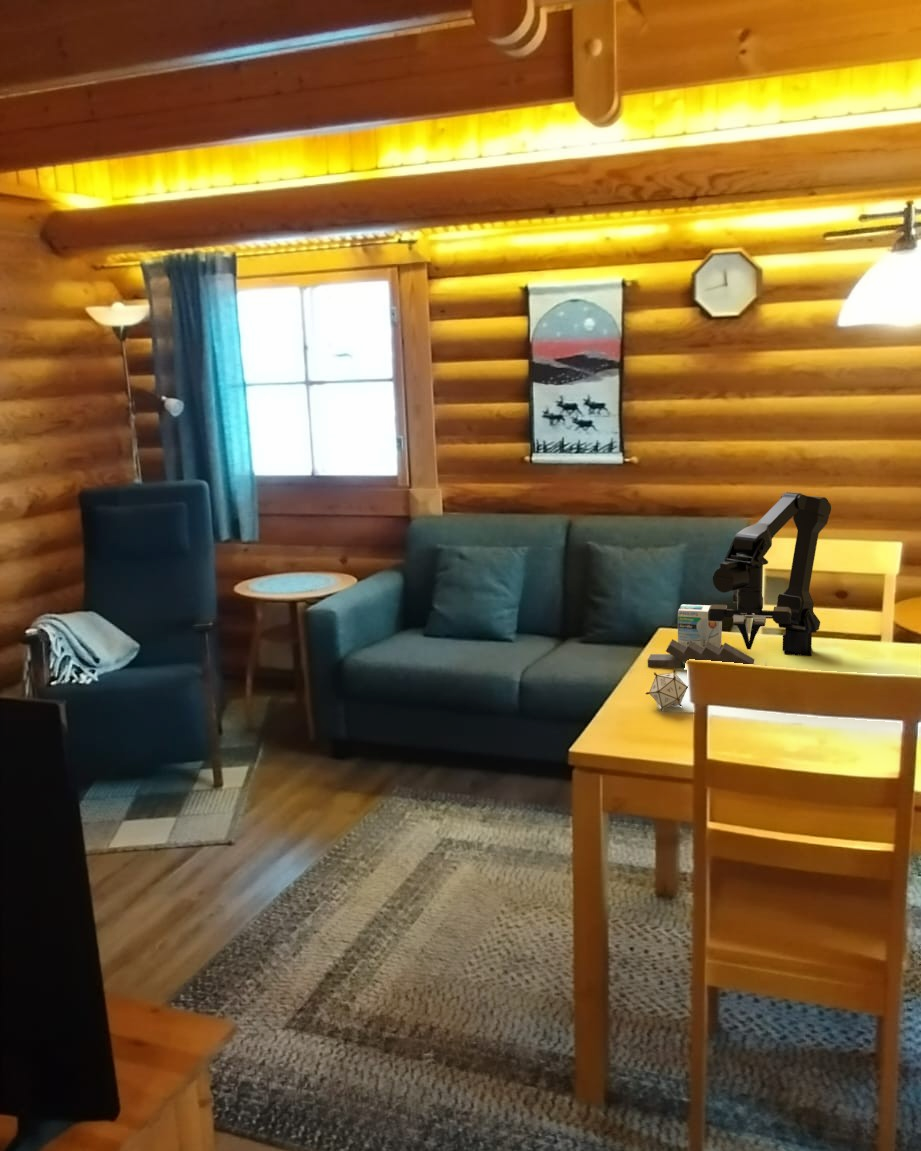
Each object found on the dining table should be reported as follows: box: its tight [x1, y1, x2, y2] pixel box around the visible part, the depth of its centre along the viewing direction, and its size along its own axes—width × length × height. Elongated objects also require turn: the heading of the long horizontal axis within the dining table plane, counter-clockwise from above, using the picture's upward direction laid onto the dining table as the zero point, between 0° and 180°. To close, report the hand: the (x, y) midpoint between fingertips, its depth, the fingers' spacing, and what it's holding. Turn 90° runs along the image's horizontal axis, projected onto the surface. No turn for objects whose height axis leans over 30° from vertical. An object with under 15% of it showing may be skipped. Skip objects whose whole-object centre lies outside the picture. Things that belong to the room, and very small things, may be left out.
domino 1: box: [647, 653, 684, 669], centre depth 250 cm, size 2×5×8 cm
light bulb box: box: [677, 603, 723, 649], centre depth 263 cm, size 11×7×11 cm, turn 70°
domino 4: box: [702, 642, 730, 662], centre depth 245 cm, size 2×5×8 cm
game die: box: [645, 669, 689, 712], centre depth 220 cm, size 9×8×10 cm
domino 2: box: [665, 638, 693, 663], centre depth 248 cm, size 2×5×8 cm
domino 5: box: [719, 642, 755, 665], centre depth 244 cm, size 2×5×8 cm
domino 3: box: [684, 641, 713, 661], centre depth 247 cm, size 2×5×8 cm
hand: (748, 648), depth 243 cm, fingers closed
